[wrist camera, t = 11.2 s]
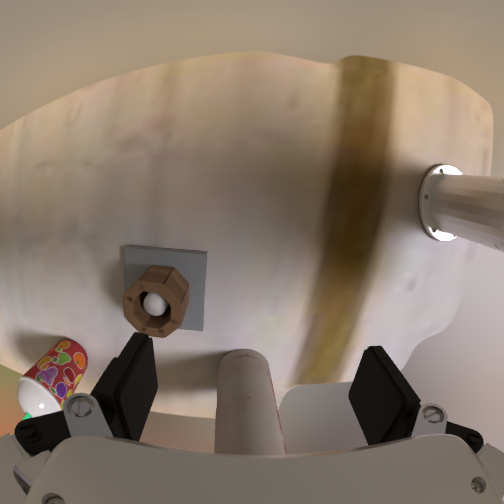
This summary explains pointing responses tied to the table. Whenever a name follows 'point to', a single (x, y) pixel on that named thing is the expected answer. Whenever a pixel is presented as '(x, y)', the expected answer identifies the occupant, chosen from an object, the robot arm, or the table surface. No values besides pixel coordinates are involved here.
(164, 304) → the post stand
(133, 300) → the walnut ring
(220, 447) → the thermos bottle
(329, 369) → the table surface
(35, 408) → the smoothie
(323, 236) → the table surface
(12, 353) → the table surface
